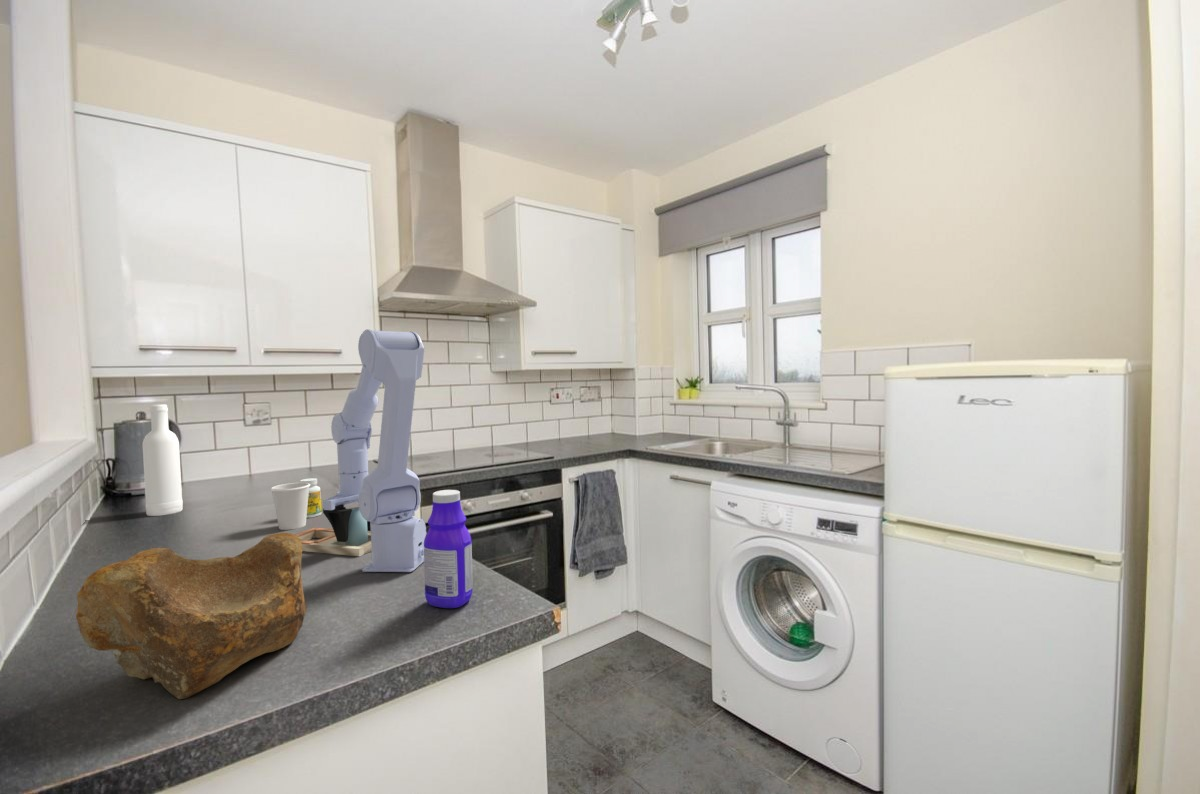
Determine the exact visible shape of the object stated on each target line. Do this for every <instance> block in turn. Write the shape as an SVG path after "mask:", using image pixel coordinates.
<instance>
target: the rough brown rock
mask: <svg viewBox="0 0 1200 794" xmlns="http://www.w3.org/2000/svg"><path fill="white" fill-rule="evenodd" d="M303 552H304V551H303V547H302V542H301V540H300V539H299V538H298V537H297V536H296V535H295V534H293V533H291V532H289V533H288V532H279V533H273V534H269V535H266V536H265V537H263V538H261V540H260V541H258V543H256V544H255V545H253V546H252V547H250V548H247V549H246V550H244V551H243V552H241V553H240V554H238V555H235V556H233V557H229V556H226V557H225V556H224V557H215V558H214V557H213V558H209V559H193V558H186V557H184V556H182V555H181V556H180V555H179V554H178V553H176V552H175V551H174V550H172V549H170V548H168V547H156V548H155V547H153V548H149V549H146V550H141V551H138V552H137V553H136V554H134V555H132V556H130V557H129V558H128V559H127V560H120V561H117V562H113V563H111V564H107V565H104V566H102V567H100V568H98V569H97V570H96V571H94V572H93V573H92V574H90V575H89V576H87V578H86V579H85V581H84V583H83V585H82V587H81V589H80V590H79V591H78V593H77V595H76V599H77V606H76V607H77V610H76V611H77V612H76V614H75V619H76V621H77V625H78V628H79V629H78V630H79V633H80V634H81V637H82V639H83V641H84V642H85V644H86V646H87V647H89V648H91V649H95V650H97V651H102V652H110V653H112V654H113V656H114V658H115V660H116V663H117V664H118V665H119V666H120V667H121V668H122V670H123V671H124V672H125V674H126V675H127V677H133V678H134V677H135V678H138V679H141V680H147V679H151V678H152V679H153V681H154V683H156V684H161V685H162V687H163V688H165V690H166V691H168V692H169V694H171V695H172V696H174V697H175V698H177V699H178V700H182V699H183V700H185V699H188V698H190V697H192V696H194V695H196V694H198V693H200V692H202V691H204V690H205V689H208V688H209V687H212V686H213V685H215V684H216V683H218V682H220V681H221V680H222V679H223V678H224V677H225V676H227V675H229V674H231V673H232V672H233V671H235V670H236V669H238V668H239V667H241V666H242V665H244V664H245V663H247V662H249V661H250V660H253V659H255V658H257V657H259V656H262V655H264V654H268V653H272V652H275V651H278V650H281V649H284V648H286V647H287V646H288V645H291V644H292V643H294V641H295V640H296V639H297V637H298V634H299V632H300V630H301V628H302V627H303V623H304V620H305V616H306V609H307V607H306V606H307V605H306V599H305V595H304V586H303V585H304V584H303V579H302V558H303Z"/></svg>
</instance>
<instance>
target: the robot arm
mask: <svg viewBox="0 0 1200 794" xmlns="http://www.w3.org/2000/svg"><path fill="white" fill-rule="evenodd" d="M357 344H358V347H357V348H358V356H359V358H360V361H361V364H362V367H361V370H360V371H361V372H360V375H359V379H358V384H357V387H356V388H353V389H351V390H350V391H349V393H348V395H347V397H346V400H345V403H344V406H343V408H342V411H341V412H337V414H334V416H333V417H332V420H331V423H330V424H331V425H330V428H331V429H330V430H331V436H332V440H333V441H334V442H335V443H336V447H337V448H336V453H337V472H338V475H337V476H338V491H337V492H336V494H334V495H333V496H331V497H328V498H326V499H323V500H322V502H323V506H322V507H323V508H322V514H324V516H325V518H327V520H328V522H329V524H330V525H331V529H333V530H334V533H335V536H336V539H337V542H347V541H348V527H349V519H350V515H351V512H352V509H349V508H346V506H347V505H349V504H354V503H355V502H357V503H358V507H359V510H360V513H361V515H362V517H363V518H364V519H365V520H367V531H368V532H370V533H371V551H370V553H371V562H370V563H369V564H367V565H365V566H364V567H363V568H362V569H361V571H362V573H411V572H413V571H415V569H417V568H418V567H419V566H420V565H421V564H424V539H425V536H426V534H427V527H426V526H427V525H426V523H425V521H424V519H423V518H418V517H417V518H416V517H415V515H416V514H415V512H416V511H418V509H419V507H420V504H421V499H422V494H421V490H420V488H421V487H420V484H421V483H420V482H421V480H420V478H419V477H418V475H417V474H416V473H415V472H414V471H412V470H411V469H409V468H408V459H409V448H410V440H411V439H410V438H411V431H412V423H413V422H412V421H413V412H414V404H415V402H414V401H415V395H416V394H415V392H416V383H417V380H419V379H420V378H421V377H422V374H423V365H424V356H425V346H424V344H423V341H422V338H421V337H420V335H419V334H418V333H417V332H416V331H395V330H394V331H392V330H391V331H388V330H373V329H365V330H363V331H362V333H361V334H360V336H359V338H358V343H357ZM382 384H383V386H384V395H383V404H382V406H383V407H382V415H381V425H380V427H381V428H380V437H379V448H378V457H377V466H376V468H374V469H373V470H372V471H371V472H369V462H368V461H369V458H368V457H369V455H368V453H369V452H368V449H370V446H371V437H372V432H373V427H372V423H371V421H372V419H373V417H374V414H375V412H376V409H377V407H378V404H379V398H378V395H377V393H378V391H379V389H380V387H381V385H382Z"/></svg>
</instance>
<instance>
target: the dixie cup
mask: <svg viewBox="0 0 1200 794" xmlns="http://www.w3.org/2000/svg"><path fill="white" fill-rule="evenodd" d="M309 486H310V484H309V483H300V482H292V483H291V482H290V483H283V484H278V485H274V486H272V487H270V491H271V494H272V499H273V504H274V509H275V510H274V511H275V516H276V520H277V525H278V529H279V530H281V531H282V530H283V531H287V530H288V531H290V530H296V529H300V528H303V527H306V526H307V519H308V518H307V506H308V495H309Z"/></svg>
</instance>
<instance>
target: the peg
mask: <svg viewBox="0 0 1200 794" xmlns="http://www.w3.org/2000/svg"><path fill="white" fill-rule="evenodd" d="M348 509H352V512H351V515H350V519H349V527H348V541H347V542H345V545H346V546H357V547H358V546H360V545H362V544H365V543H367V542H368V533H369V531H367V520H365V519H364V518H363V517H362V515H361V513H360V510H359V506H357V507H349V508H348Z"/></svg>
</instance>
